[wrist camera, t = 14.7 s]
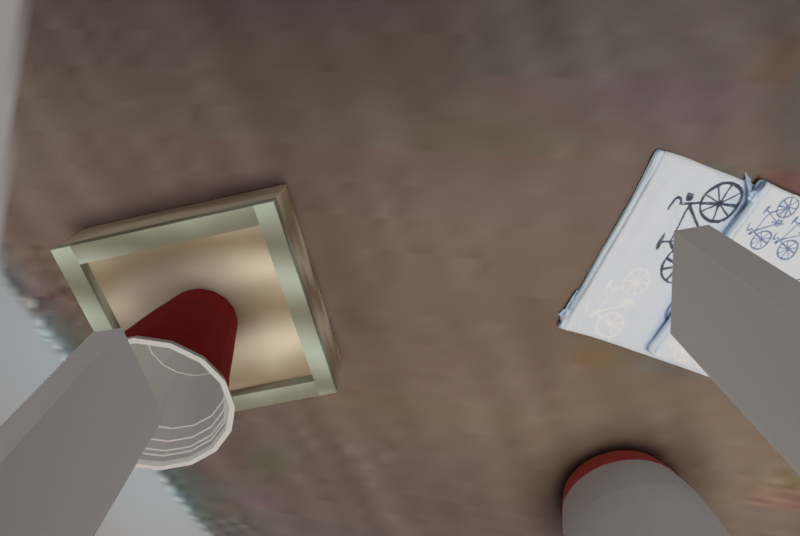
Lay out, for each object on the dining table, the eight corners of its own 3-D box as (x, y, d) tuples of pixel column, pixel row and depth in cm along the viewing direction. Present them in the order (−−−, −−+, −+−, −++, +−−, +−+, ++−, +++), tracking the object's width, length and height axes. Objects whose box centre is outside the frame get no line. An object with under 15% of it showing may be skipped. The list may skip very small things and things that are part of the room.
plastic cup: (247, 388, 47) (204, 495, 36) (127, 346, 45) (43, 445, 34) (289, 291, 43) (254, 378, 32) (159, 239, 41) (76, 314, 30)
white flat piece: (724, 380, 53) (736, 393, 51) (548, 319, 50) (554, 331, 48) (851, 213, 46) (872, 221, 44) (656, 130, 43) (668, 135, 41)
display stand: (85, 228, 45) (50, 250, 40) (285, 183, 44) (273, 201, 39) (167, 393, 52) (145, 428, 48) (341, 360, 51) (336, 392, 46)
